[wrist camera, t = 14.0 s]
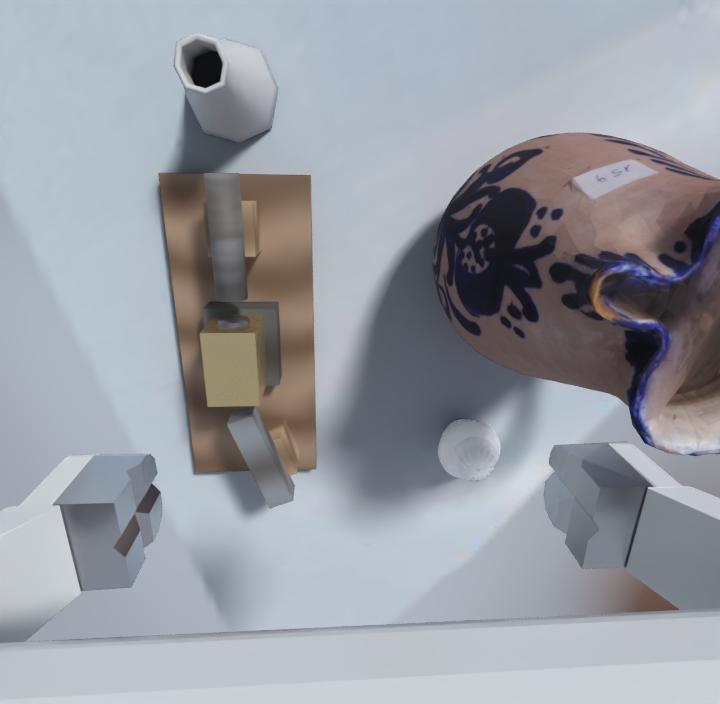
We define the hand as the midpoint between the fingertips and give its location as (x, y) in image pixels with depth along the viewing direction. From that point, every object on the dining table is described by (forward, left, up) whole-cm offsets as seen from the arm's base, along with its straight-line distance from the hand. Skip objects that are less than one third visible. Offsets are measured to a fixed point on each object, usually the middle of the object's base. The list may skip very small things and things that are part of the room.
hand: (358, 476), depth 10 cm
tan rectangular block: (+8, -8, -30) cm, 32 cm away
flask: (-12, -8, -34) cm, 37 cm away
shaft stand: (+8, -8, -34) cm, 36 cm away
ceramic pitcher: (0, +18, -34) cm, 39 cm away
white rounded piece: (+19, +13, -34) cm, 41 cm away
